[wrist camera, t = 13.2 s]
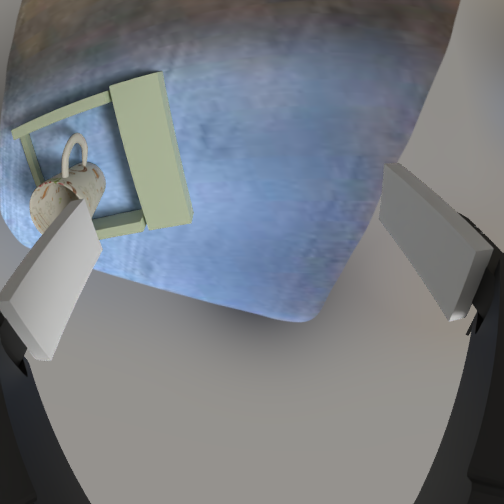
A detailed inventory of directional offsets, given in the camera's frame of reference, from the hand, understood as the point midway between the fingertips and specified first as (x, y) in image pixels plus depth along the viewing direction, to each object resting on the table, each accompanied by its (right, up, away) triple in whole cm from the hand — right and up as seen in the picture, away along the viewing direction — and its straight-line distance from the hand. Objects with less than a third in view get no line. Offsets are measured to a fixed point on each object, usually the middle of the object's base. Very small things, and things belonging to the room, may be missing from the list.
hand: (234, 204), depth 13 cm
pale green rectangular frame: (-20, +10, +26) cm, 34 cm away
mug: (-22, +10, +26) cm, 35 cm away
